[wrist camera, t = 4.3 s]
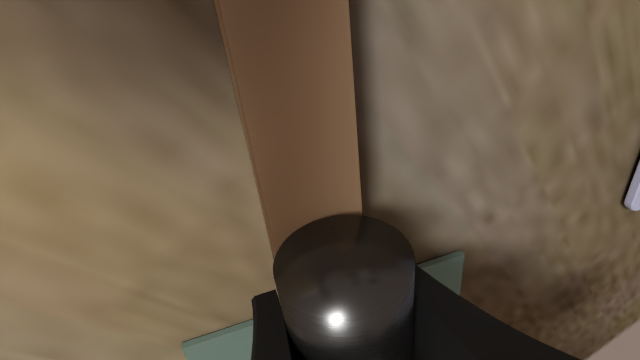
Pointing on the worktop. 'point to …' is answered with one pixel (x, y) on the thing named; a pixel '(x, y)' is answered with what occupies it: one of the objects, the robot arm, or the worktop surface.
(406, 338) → the dark grey round-headed part
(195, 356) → the mat
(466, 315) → the robot arm
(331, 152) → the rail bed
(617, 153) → the worktop surface
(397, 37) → the worktop surface
